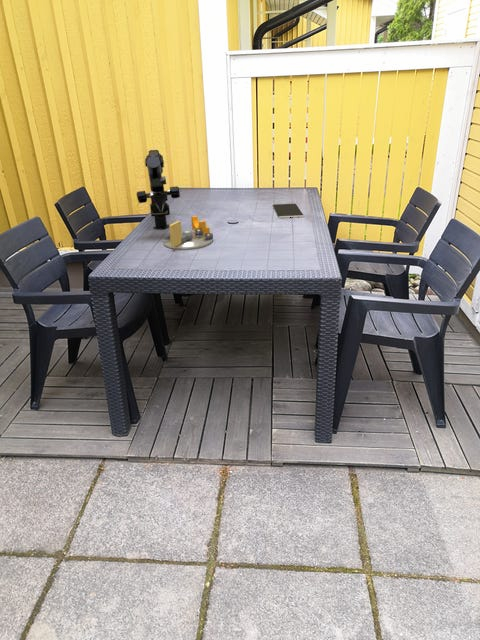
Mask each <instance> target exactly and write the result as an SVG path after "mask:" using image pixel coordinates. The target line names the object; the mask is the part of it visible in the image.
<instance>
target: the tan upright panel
mask: <svg viewBox="0 0 480 640" xmlns="http://www.w3.org/2000/svg"><path fill="white" fill-rule="evenodd" d="M168 225H169V226H168V228H169V236H170V239H171V247H175V246H177V245H179V244H181V243H183V242H185V241H187V240H191V239H193V235H192V232H193V231H190V230H185V231H184V232H182V224H181V220H176V221H175V222H173V223H171V224H168ZM182 234H183V236H182Z"/></svg>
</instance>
